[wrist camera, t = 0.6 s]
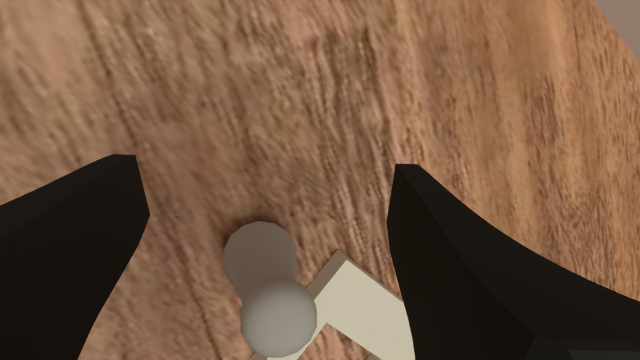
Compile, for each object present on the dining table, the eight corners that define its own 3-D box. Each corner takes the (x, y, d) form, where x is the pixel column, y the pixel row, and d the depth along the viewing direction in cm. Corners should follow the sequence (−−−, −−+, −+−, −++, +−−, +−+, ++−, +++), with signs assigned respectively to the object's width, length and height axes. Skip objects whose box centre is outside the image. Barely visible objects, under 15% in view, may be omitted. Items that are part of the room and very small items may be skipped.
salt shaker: (304, 238, 34) (355, 312, 22) (263, 291, 34) (293, 395, 22) (249, 200, 32) (273, 258, 20) (207, 256, 32) (204, 348, 20)
